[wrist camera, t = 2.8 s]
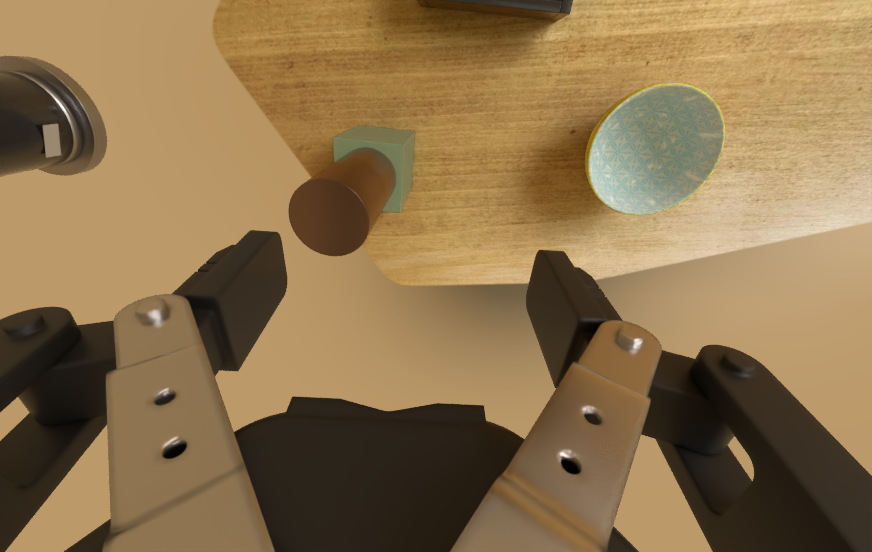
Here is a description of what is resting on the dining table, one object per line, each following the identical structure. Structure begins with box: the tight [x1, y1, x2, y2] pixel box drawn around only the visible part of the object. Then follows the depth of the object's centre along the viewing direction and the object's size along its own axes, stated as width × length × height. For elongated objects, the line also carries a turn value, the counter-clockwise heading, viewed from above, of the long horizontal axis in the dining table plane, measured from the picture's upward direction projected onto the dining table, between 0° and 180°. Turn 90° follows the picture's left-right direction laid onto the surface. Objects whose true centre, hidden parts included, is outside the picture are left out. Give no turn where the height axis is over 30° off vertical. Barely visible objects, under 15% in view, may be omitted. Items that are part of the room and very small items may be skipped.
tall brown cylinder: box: [289, 147, 396, 256], centre depth 27 cm, size 5×5×11 cm
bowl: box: [585, 83, 725, 215], centre depth 35 cm, size 11×12×6 cm
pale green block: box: [333, 125, 415, 213], centre depth 36 cm, size 6×6×9 cm
